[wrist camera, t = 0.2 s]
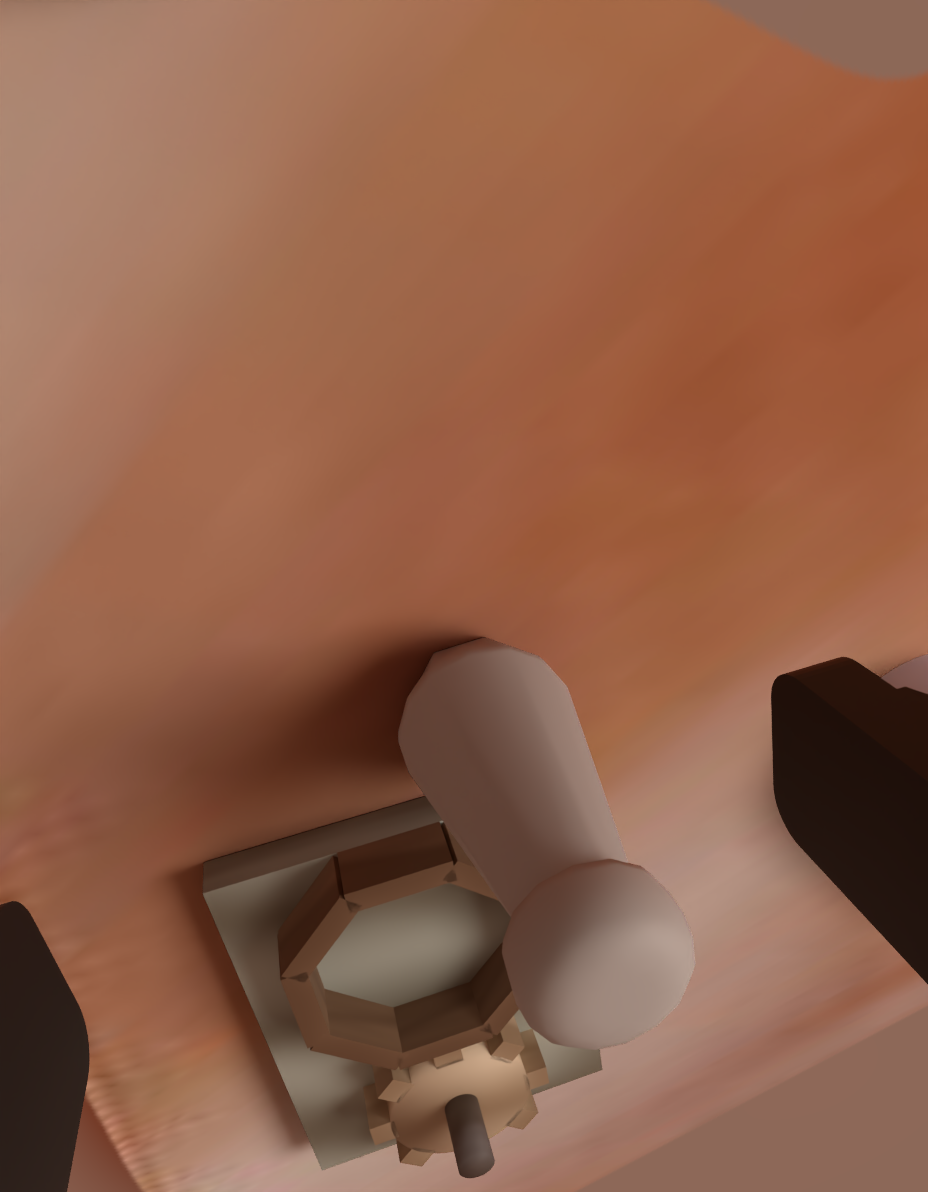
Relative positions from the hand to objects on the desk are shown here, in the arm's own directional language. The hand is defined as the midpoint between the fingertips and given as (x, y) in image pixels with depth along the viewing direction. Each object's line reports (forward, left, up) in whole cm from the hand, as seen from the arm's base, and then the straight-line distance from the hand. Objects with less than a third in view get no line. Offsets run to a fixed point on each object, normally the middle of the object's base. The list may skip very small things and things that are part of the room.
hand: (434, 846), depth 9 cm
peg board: (+23, -1, -18) cm, 29 cm away
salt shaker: (+10, +3, -18) cm, 21 cm away
